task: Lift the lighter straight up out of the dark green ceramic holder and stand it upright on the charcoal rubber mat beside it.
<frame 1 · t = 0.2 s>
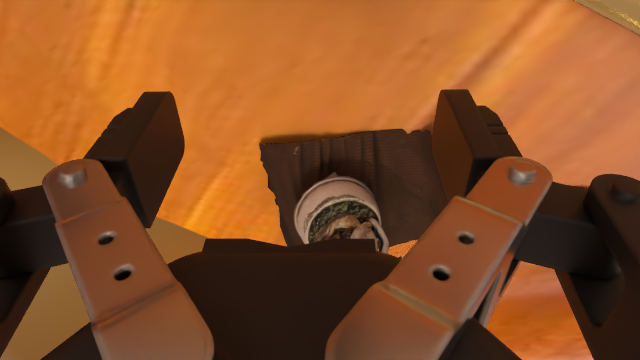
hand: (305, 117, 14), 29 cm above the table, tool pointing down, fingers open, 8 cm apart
potted plant: (356, 191, 53), on the table
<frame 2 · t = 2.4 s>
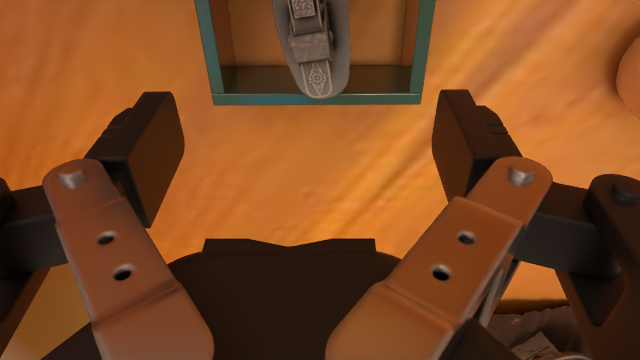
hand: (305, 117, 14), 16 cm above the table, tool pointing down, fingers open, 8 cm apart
potted plant: (553, 343, 50), on the table
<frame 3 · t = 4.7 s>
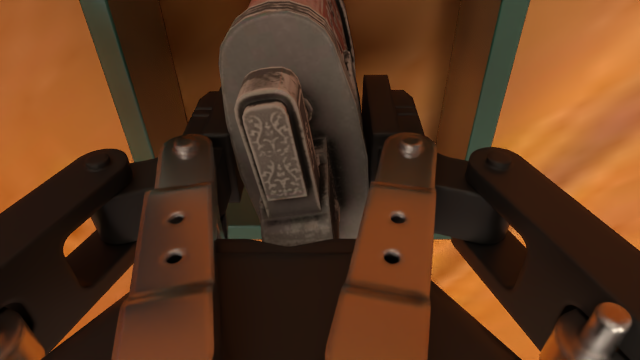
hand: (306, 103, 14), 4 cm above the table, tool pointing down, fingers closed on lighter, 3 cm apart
lighter: (310, 52, 18), resting in holder, touching gripper
holder: (310, 54, 17), on the table
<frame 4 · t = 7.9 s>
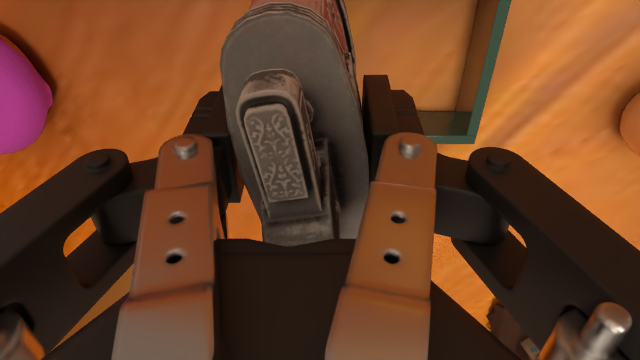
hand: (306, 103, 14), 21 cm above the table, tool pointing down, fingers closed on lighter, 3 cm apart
donut: (0, 80, 37), on the table
lighter: (311, 53, 18), point 17 cm above the table, touching gripper
potted plant: (561, 334, 59), on the table
holder: (398, 48, 35), on the table
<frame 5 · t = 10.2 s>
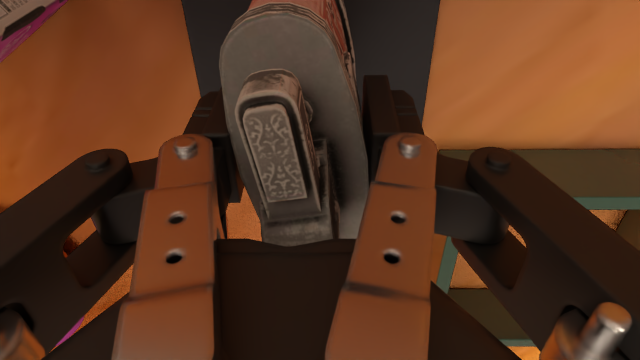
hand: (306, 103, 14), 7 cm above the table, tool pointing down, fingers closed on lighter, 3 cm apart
lighter: (311, 53, 18), point 3 cm above the table, touching gripper
mat: (311, 26, 20), on the table
holder: (525, 232, 28), on the table
when the fingers open (4 cm above the table, at t = 11.4 s): lighter stays where it is, resting on mat.
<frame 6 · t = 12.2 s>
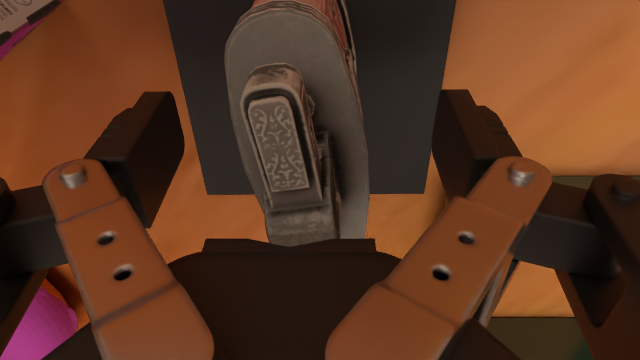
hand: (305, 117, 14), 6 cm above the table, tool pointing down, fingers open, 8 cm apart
donut: (9, 291, 28), on the table
lighter: (312, 50, 18), resting on mat
mat: (310, 47, 18), on the table
holder: (539, 261, 26), on the table
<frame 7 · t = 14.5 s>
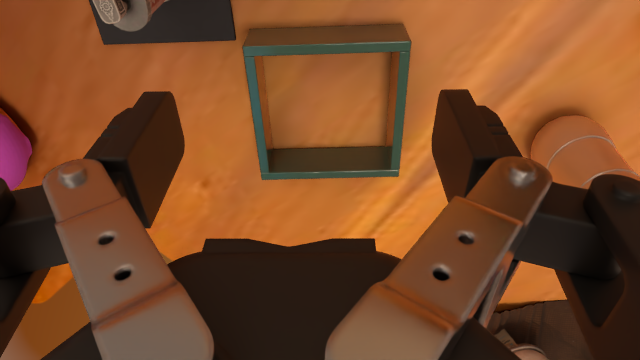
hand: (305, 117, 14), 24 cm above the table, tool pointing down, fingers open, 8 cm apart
potted plant: (516, 338, 63), on the table
holder: (327, 96, 40), on the table
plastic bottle: (557, 135, 42), on the table
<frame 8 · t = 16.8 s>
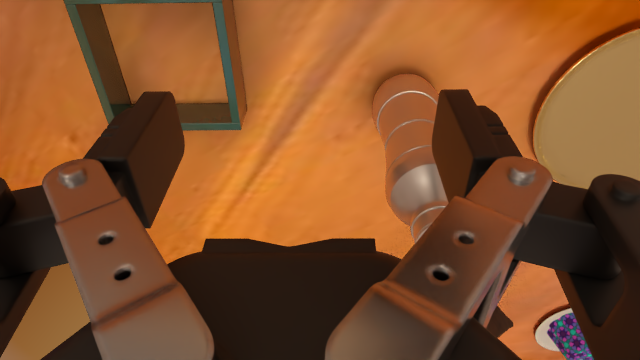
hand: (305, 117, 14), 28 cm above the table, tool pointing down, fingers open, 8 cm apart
purple patterned hat: (573, 324, 68), on the table
potted plant: (406, 303, 65), on the table
holder: (172, 51, 41), on the table
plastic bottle: (402, 96, 44), on the table
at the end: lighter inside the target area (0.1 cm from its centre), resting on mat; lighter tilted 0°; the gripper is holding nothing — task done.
